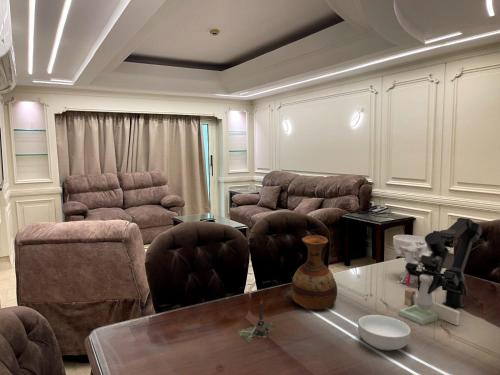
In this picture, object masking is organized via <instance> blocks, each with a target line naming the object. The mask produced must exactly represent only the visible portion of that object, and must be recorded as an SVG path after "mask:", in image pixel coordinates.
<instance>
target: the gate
mask: <svg viewBox="0 0 500 375" xmlns="http://www.w3.org/2000/svg"><path fill="white" fill-rule="evenodd" d="M417 296H418V294H416V295H415V294H413V299H412V306H414V305H416V306H418V305H417ZM429 311H431V312H434V313H437V314H438V319H441V320H442V321H446V322H448V323H450V324H452V325H454V326H459V325H460V316H461V314H460V313H461V312H460V311H458V310H457V309H454V308H452V307H449V306H447V305H444V304H440V303H438V302H436V301H433V305H432V307H431V309H430V310H429Z"/></svg>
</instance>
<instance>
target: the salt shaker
mask: <svg viewBox="0 0 500 375" xmlns="http://www.w3.org/2000/svg"><path fill="white" fill-rule="evenodd" d="M432 277H433V276H430V275H426V274H422V275H420V281H421V284H420V289H419V291H418V293H417V295H418V296H417V305H418V307H419V308H420V309H422V310H430V309H431V307H432V305H433V302H434V301H433V295H432V294H433V293H430V294H428V293H427V292H428V289H429V287H430V285H431V283H432V281H433V278H432Z"/></svg>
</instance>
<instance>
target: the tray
mask: <svg viewBox="0 0 500 375" xmlns="http://www.w3.org/2000/svg"><path fill="white" fill-rule="evenodd" d="M398 317H402V318H404V319H406V320H409V321H412V322H413V323H416V324H418V325H421V326H424V325H428V324H430V323H433V322H436V321H438V320H439V318H438V314H437V313H434V312H431V311H429V310H422V309H420V308H419V307H418V306H416V305H414V306H410V307H409V306H407V307H405V308H402V309H399V310H398Z"/></svg>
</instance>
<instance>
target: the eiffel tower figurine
mask: <svg viewBox="0 0 500 375" xmlns="http://www.w3.org/2000/svg"><path fill="white" fill-rule="evenodd" d="M262 299H263V298H261V300H260V302H259V303H260V308H259V317H258V322H257V324H256V325H255V326H250V327H245V328H241V329H238V330H237V334H238V335H240V336H241V337H242V339H244V340H245V341H246V343H252V342H254V341H253V337H258V338H264V339H267V338H268V337H269V335H270V332H271V330H273V329H274V328H276V327H275V326H276V325H274V324H273V323H272V322H269V323H265V322H264V321H265V320H264V317H263V316H264V314H263V300H262Z"/></svg>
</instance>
